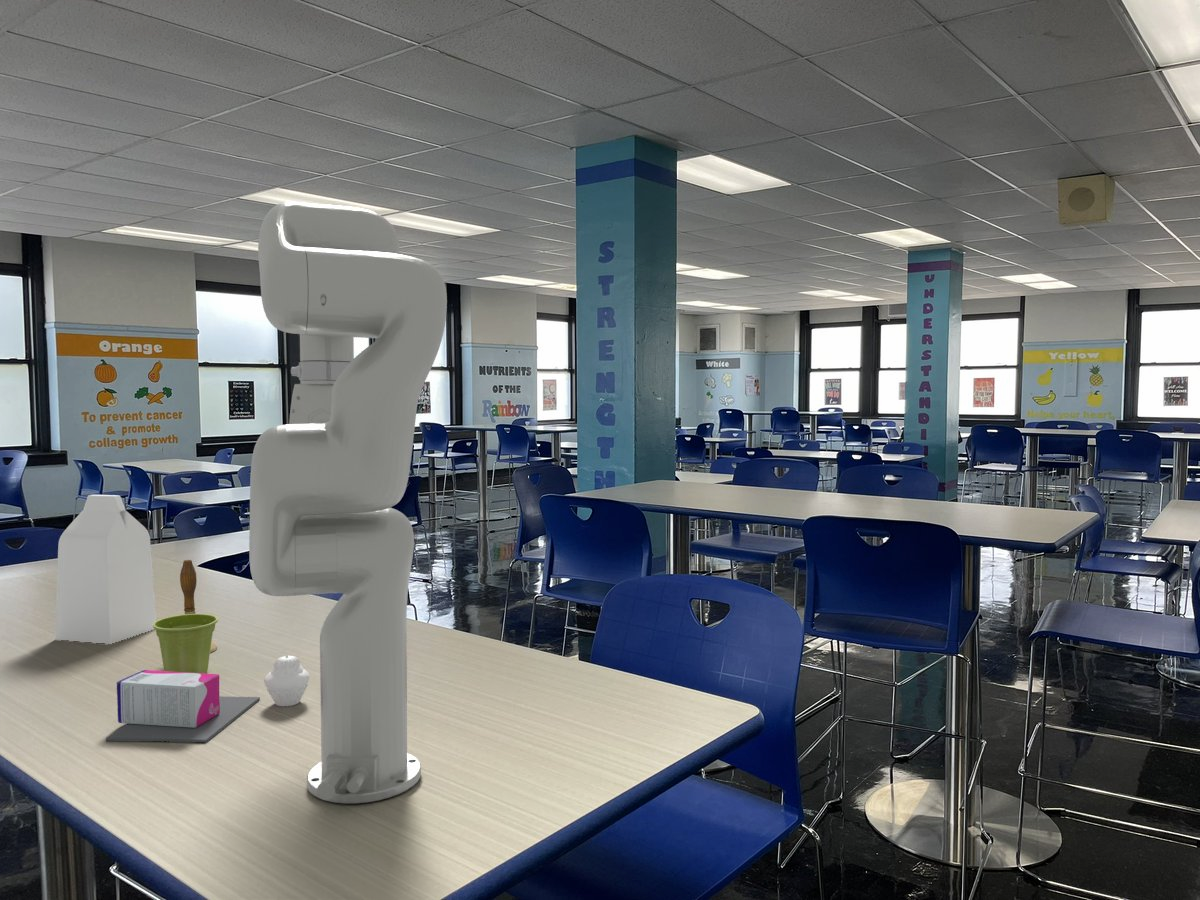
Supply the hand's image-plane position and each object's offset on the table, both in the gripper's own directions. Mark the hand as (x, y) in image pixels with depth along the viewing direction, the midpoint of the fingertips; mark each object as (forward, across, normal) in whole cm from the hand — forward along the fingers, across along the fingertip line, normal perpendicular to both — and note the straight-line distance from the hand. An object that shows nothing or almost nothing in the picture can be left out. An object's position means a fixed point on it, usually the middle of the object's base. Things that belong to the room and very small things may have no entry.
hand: (328, 499), depth 128 cm
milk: (+29, -52, +31) cm, 67 cm away
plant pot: (+29, -26, +7) cm, 40 cm away
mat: (+29, -16, -12) cm, 35 cm away
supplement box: (+26, -24, -12) cm, 37 cm away
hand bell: (+29, -32, +20) cm, 48 cm away
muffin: (+29, -5, -5) cm, 30 cm away
